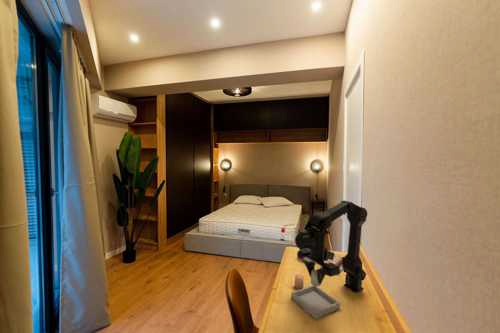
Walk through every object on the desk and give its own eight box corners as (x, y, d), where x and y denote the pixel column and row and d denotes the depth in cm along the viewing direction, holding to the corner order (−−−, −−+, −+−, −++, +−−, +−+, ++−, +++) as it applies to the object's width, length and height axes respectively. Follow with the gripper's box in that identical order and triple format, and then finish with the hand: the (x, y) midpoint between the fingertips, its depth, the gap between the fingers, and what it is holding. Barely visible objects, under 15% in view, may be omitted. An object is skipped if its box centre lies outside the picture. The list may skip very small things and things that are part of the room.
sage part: (322, 284, 88) (323, 273, 88) (316, 287, 86) (316, 275, 86) (315, 279, 92) (316, 268, 92) (308, 282, 90) (309, 270, 90)
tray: (339, 308, 87) (340, 302, 87) (315, 320, 80) (315, 313, 80) (314, 289, 99) (314, 284, 99) (291, 298, 92) (291, 292, 92)
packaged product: (338, 267, 112) (320, 261, 118) (337, 276, 112) (319, 270, 118) (348, 256, 126) (331, 251, 132) (347, 264, 126) (330, 259, 132)
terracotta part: (304, 288, 100) (305, 277, 100) (298, 290, 98) (299, 279, 98) (299, 283, 104) (299, 273, 103) (292, 285, 102) (293, 275, 102)
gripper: (350, 250, 84) (347, 288, 85) (314, 234, 101) (313, 266, 101) (331, 255, 79) (328, 296, 80) (297, 238, 95) (295, 272, 96)
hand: (316, 281), depth 89 cm, fingers closed on sage part, 4 cm apart
